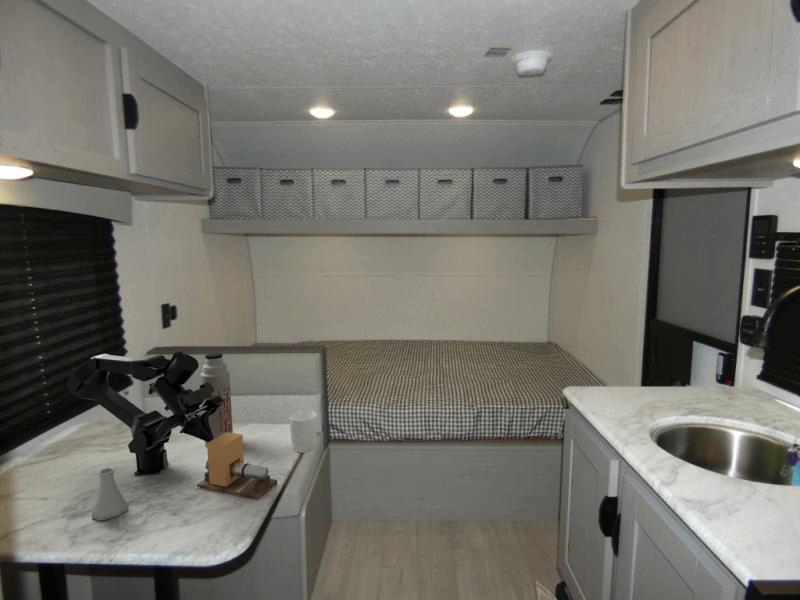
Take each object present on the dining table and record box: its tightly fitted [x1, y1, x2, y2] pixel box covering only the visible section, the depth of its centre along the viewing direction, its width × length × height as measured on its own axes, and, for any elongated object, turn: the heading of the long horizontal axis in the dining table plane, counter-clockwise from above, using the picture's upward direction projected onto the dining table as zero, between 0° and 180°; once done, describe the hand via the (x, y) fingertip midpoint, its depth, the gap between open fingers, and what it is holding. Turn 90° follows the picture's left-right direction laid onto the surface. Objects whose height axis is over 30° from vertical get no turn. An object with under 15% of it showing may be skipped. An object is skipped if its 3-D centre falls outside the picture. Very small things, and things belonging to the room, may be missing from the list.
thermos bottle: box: [200, 352, 234, 449], centre depth 139 cm, size 8×8×28 cm
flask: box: [91, 466, 129, 522], centre depth 105 cm, size 7×7×10 cm
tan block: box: [206, 432, 245, 487], centre depth 117 cm, size 5×7×10 cm
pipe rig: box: [196, 459, 278, 501], centre depth 116 cm, size 18×8×6 cm, turn 71°
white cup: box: [289, 410, 318, 454], centre depth 137 cm, size 8×8×10 cm
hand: (212, 441), depth 118 cm, fingers closed
